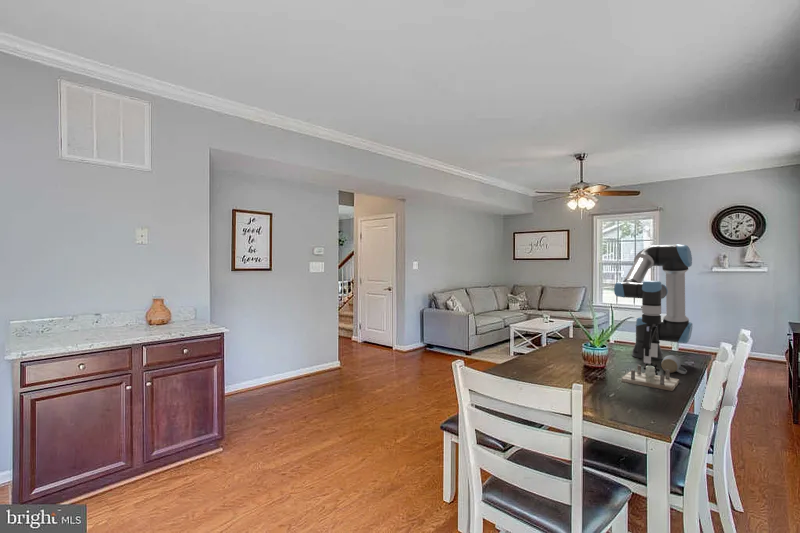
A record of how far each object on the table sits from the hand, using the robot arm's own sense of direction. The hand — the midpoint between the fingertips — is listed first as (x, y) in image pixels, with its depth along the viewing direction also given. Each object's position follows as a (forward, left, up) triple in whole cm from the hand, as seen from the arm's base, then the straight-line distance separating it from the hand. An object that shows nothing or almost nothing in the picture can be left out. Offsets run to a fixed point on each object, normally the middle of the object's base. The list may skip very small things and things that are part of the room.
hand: (650, 359), depth 190 cm
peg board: (0, 0, -10) cm, 10 cm away
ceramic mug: (-27, +5, -11) cm, 29 cm away
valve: (+1, 0, -9) cm, 9 cm away
